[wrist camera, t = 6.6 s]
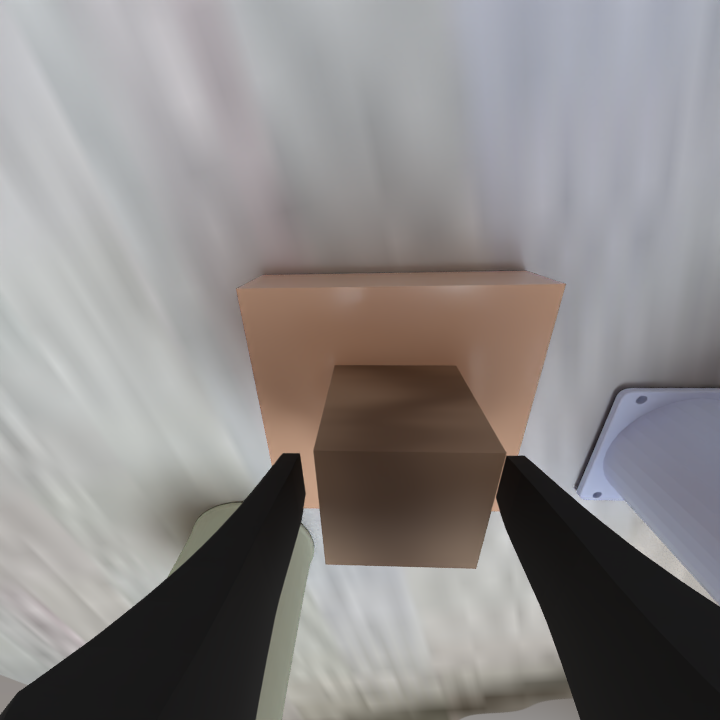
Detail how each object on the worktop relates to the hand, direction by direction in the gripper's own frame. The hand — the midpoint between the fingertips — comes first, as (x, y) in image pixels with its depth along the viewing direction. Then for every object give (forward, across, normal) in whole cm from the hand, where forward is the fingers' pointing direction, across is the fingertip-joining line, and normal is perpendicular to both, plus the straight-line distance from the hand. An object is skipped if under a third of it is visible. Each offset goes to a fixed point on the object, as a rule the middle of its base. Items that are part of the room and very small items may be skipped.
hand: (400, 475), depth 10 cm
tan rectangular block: (+6, 0, 0) cm, 6 cm away
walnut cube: (+3, 0, 0) cm, 3 cm away
